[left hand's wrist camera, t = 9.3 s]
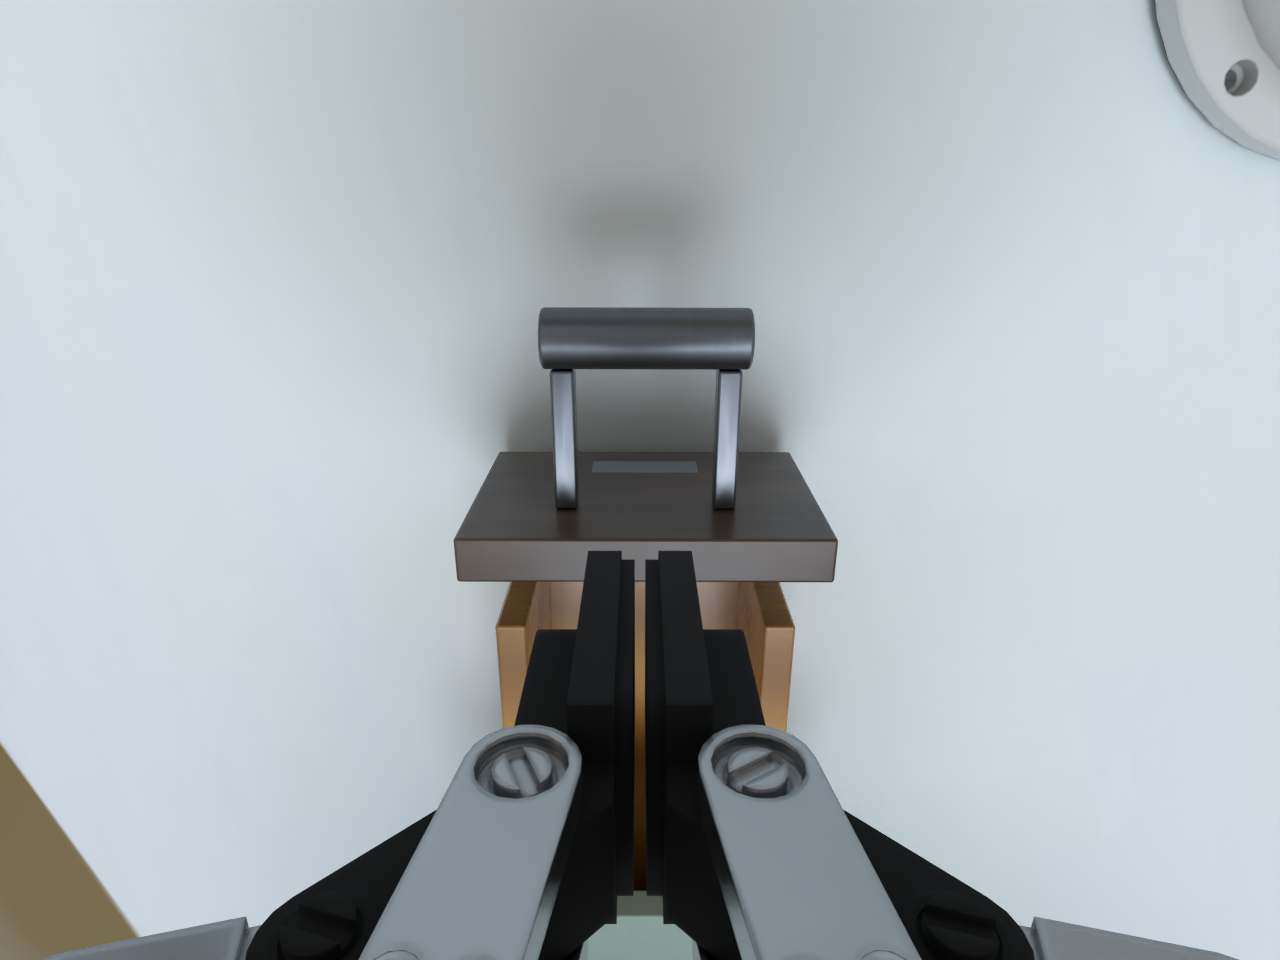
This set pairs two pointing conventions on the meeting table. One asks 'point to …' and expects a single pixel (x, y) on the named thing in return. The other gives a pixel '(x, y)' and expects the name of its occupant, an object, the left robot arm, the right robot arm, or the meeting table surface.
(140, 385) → the meeting table surface
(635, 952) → the cabinet
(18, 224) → the meeting table surface
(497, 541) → the drawer
